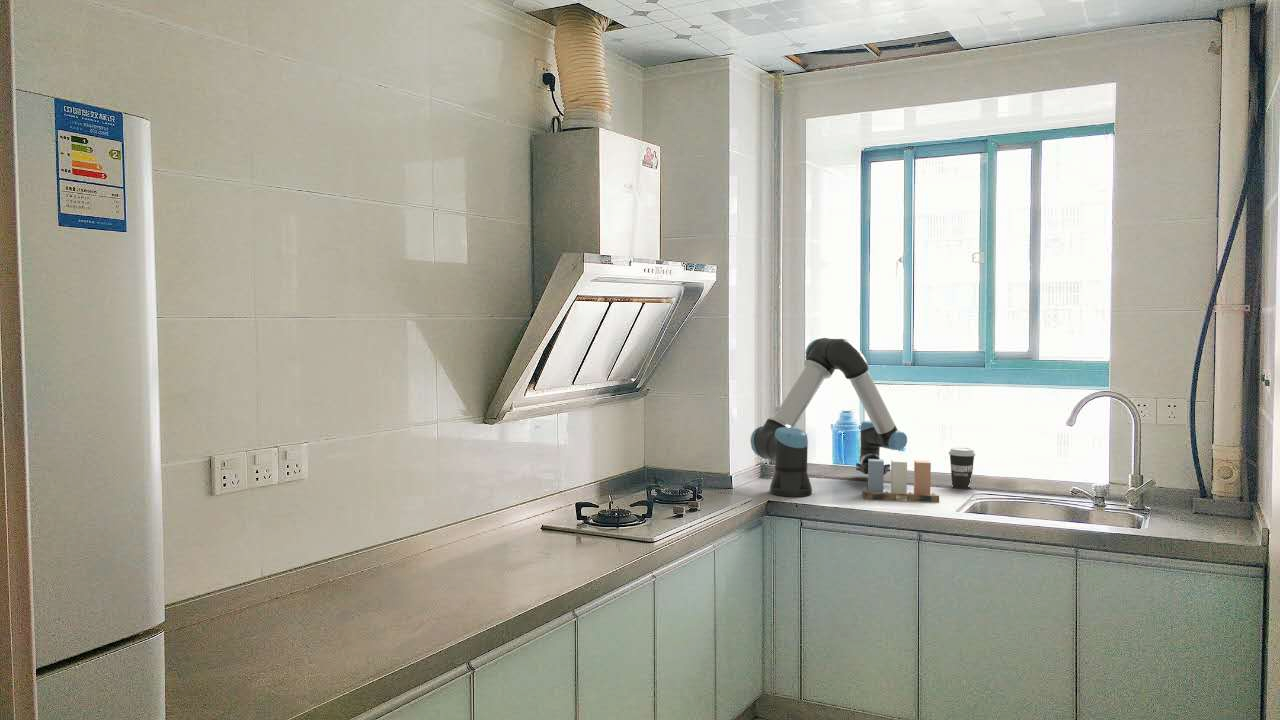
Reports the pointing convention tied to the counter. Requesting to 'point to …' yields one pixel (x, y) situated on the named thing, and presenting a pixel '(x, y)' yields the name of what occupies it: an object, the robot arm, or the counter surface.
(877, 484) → the blue-grey tall block
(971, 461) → the coffee cup
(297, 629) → the counter surface
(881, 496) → the brown wooden flat board
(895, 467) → the key
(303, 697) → the counter surface
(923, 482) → the brown tall block
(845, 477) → the counter surface
